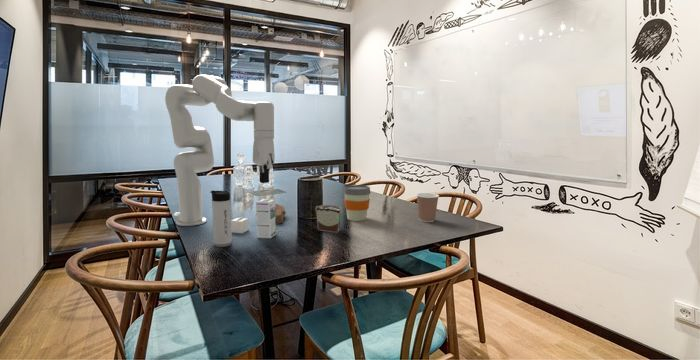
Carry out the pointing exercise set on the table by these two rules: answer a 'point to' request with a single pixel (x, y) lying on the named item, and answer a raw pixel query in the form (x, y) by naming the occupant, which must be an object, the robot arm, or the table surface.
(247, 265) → the table surface
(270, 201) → the syrup box
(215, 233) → the travel mug
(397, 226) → the table surface
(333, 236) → the table surface
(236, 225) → the white block
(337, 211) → the food container
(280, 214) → the wooden toy blocks
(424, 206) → the coffee cup
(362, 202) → the reusable coffee cup
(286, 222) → the table surface
